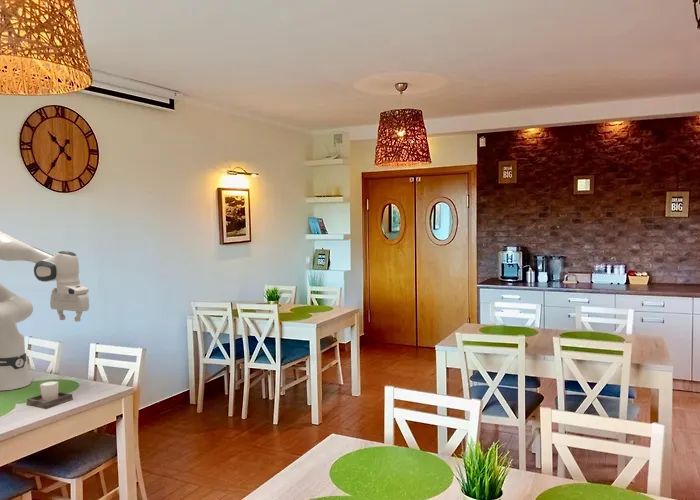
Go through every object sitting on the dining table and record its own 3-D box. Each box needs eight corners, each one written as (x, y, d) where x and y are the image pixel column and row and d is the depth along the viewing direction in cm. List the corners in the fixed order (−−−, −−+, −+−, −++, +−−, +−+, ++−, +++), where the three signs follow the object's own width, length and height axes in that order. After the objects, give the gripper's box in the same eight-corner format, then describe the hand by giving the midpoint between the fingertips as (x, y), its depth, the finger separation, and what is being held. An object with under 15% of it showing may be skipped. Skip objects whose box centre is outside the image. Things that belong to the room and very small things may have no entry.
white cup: (63, 397, 228) (62, 381, 227) (52, 403, 221) (51, 386, 221) (48, 396, 229) (47, 380, 228) (36, 402, 222) (35, 385, 221)
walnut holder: (26, 404, 222) (26, 399, 222) (53, 395, 233) (53, 390, 233) (46, 408, 217) (46, 403, 217) (73, 399, 228) (72, 394, 228)
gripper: (45, 288, 238) (47, 320, 239) (78, 290, 229) (79, 323, 230) (58, 286, 243) (60, 317, 244) (91, 288, 235) (92, 320, 236)
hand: (70, 320), depth 237 cm, fingers open, 8 cm apart
